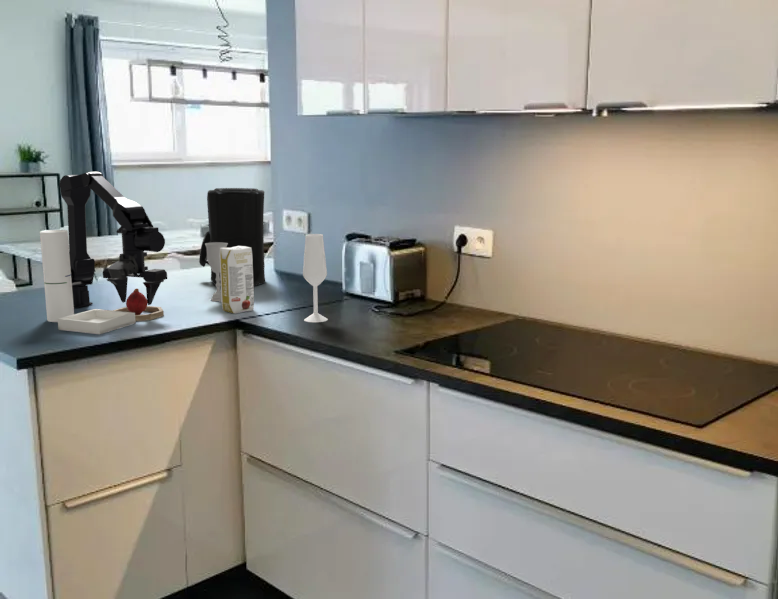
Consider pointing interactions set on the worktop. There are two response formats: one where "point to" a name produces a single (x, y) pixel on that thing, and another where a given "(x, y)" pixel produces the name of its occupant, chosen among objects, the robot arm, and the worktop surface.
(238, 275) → the juice carton
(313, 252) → the champagne flute
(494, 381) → the worktop surface
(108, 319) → the tray
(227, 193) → the coffee maker
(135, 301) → the onion
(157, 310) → the ring collar
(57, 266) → the cylindrical container
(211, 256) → the chalice
